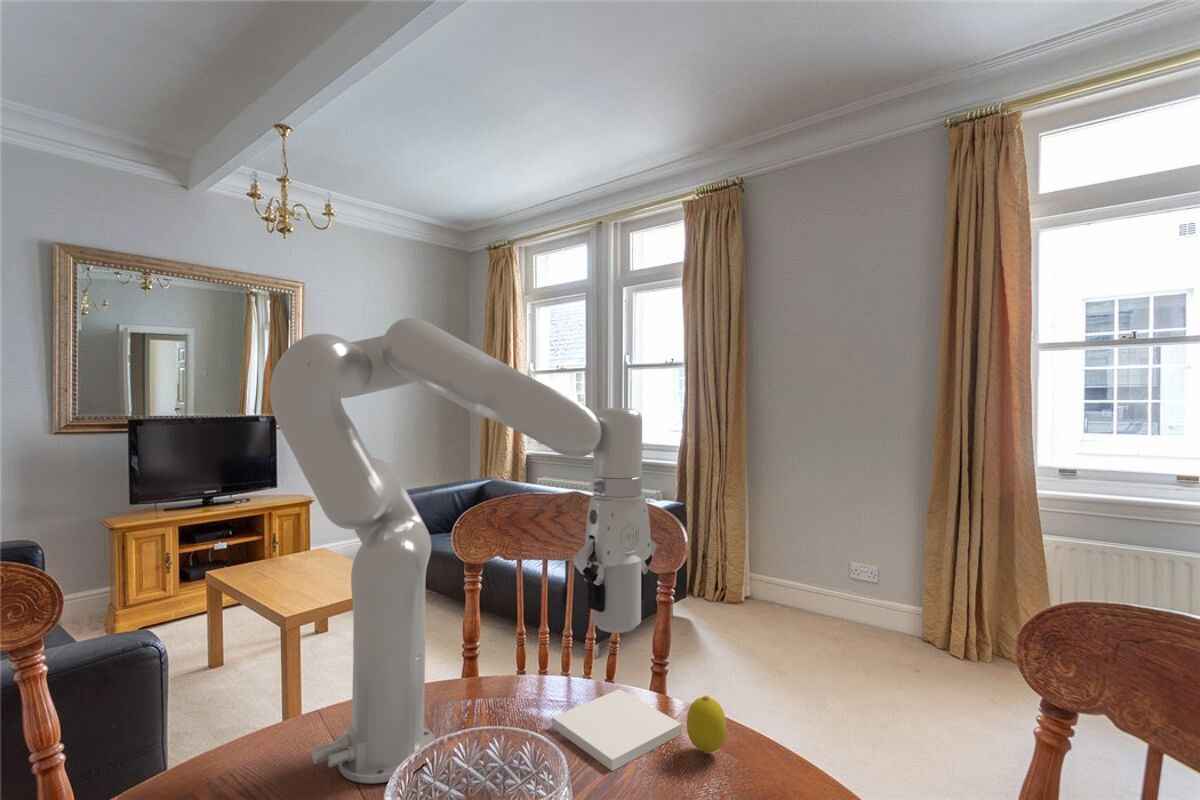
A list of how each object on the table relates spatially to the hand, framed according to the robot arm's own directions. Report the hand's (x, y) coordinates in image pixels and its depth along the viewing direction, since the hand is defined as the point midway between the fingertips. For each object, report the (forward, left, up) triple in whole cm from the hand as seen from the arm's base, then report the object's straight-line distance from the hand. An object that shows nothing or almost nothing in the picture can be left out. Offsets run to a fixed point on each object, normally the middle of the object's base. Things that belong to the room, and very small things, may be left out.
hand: (616, 603), depth 86 cm
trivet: (0, 0, -19) cm, 19 cm away
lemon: (+6, -13, -19) cm, 24 cm away
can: (0, 0, -4) cm, 4 cm away
